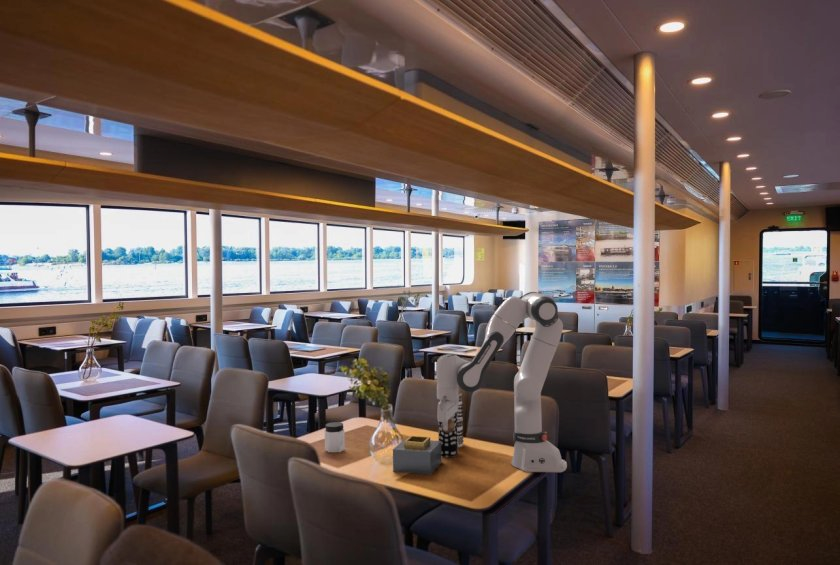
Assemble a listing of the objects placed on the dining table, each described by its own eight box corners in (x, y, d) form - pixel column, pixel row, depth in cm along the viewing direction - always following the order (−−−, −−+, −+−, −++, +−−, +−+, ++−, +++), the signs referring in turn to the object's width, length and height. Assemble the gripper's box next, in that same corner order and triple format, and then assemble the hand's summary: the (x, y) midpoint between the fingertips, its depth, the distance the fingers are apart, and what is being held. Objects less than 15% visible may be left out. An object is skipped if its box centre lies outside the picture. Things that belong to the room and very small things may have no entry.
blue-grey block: (441, 462, 246) (441, 435, 246) (430, 474, 231) (430, 446, 231) (406, 459, 251) (405, 432, 251) (393, 471, 236) (392, 443, 236)
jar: (337, 454, 260) (336, 427, 260) (322, 452, 263) (321, 426, 263) (347, 448, 268) (347, 422, 268) (332, 446, 272) (332, 421, 271)
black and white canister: (458, 448, 265) (457, 394, 264) (441, 445, 270) (440, 392, 269) (467, 443, 273) (466, 390, 272) (450, 440, 277) (449, 388, 277)
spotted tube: (456, 457, 252) (455, 411, 251) (437, 456, 253) (436, 411, 253) (458, 451, 260) (458, 407, 260) (440, 451, 261) (439, 407, 261)
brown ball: (456, 431, 238) (456, 417, 238) (453, 434, 233) (452, 421, 233) (443, 430, 240) (443, 417, 240) (440, 433, 235) (439, 420, 235)
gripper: (448, 399, 225) (449, 435, 226) (460, 389, 245) (461, 422, 245) (432, 399, 227) (433, 434, 228) (446, 388, 247) (447, 421, 247)
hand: (448, 427), depth 236 cm, fingers closed on brown ball, 5 cm apart
